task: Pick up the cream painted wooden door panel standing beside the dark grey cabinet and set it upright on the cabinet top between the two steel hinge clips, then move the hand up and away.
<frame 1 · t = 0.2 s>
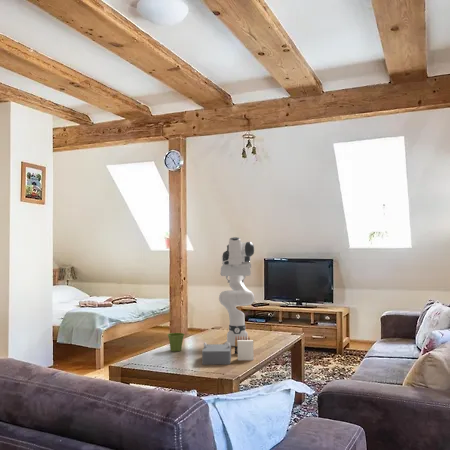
hand: (235, 282, 338), 47 cm above the table, tool pointing down, fingers open, 8 cm apart
plant pot: (176, 350, 350), on the table
door panel: (245, 359, 322), on the table
ammunition clip: (242, 354, 338), on the table
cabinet: (217, 360, 320), on the table
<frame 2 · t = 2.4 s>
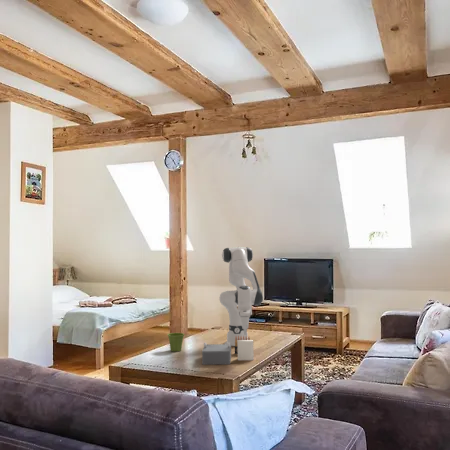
hand: (245, 333, 322), 16 cm above the table, tool pointing down, fingers open, 8 cm apart
nothing on the table moved.
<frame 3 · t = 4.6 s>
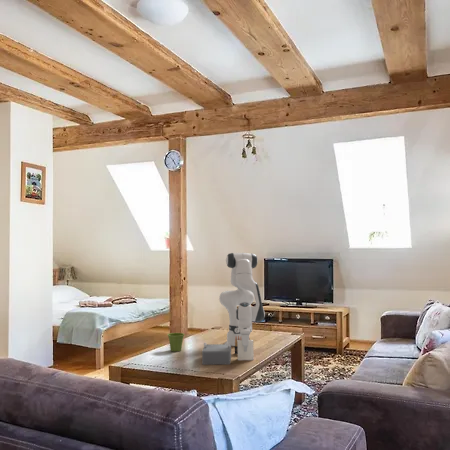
hand: (245, 350, 322), 6 cm above the table, tool pointing down, fingers closed on door panel, 3 cm apart
door panel: (245, 359, 322), on the table, touching gripper
everything else where it was.
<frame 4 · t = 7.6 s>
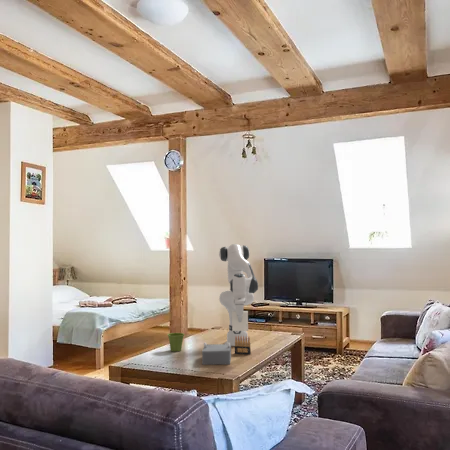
hand: (240, 321, 322), 24 cm above the table, tool pointing down, fingers closed on door panel, 3 cm apart
door panel: (240, 330, 322), point 18 cm above the table, touching gripper
everything else where it was.
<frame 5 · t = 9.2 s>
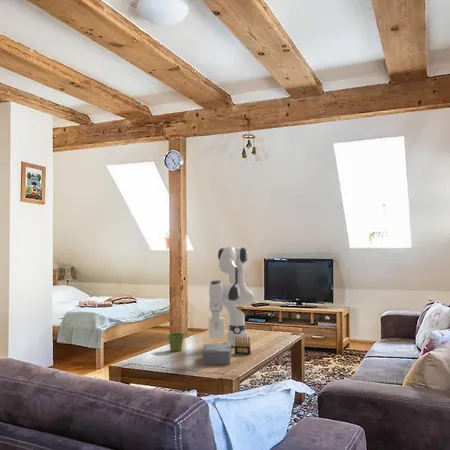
hand: (216, 328, 321), 20 cm above the table, tool pointing down, fingers closed on door panel, 3 cm apart
door panel: (216, 337, 321), point 14 cm above the table, touching gripper
everything else where it was.
when the fingers open (15 cm above the table, at t = 10.5 s): door panel stays where it is, resting on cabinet.
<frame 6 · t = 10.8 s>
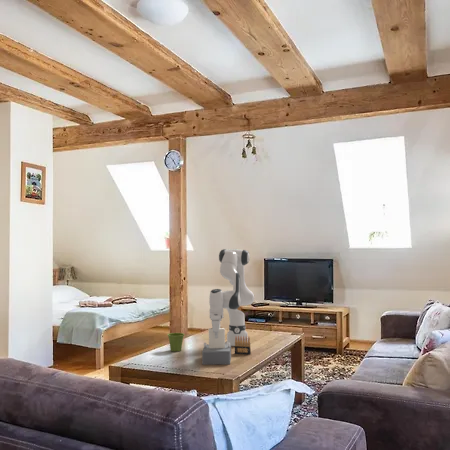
hand: (216, 337, 321), 15 cm above the table, tool pointing down, fingers open, 5 cm apart
door panel: (217, 347, 321), point 8 cm above the table, touching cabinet
everything else where it was.
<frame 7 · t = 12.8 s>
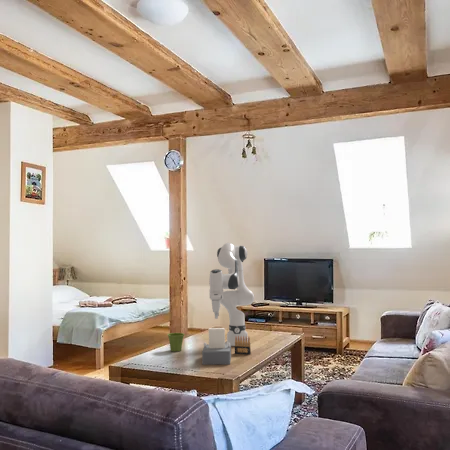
hand: (216, 317, 321), 27 cm above the table, tool pointing down, fingers open, 8 cm apart
nothing on the table moved.
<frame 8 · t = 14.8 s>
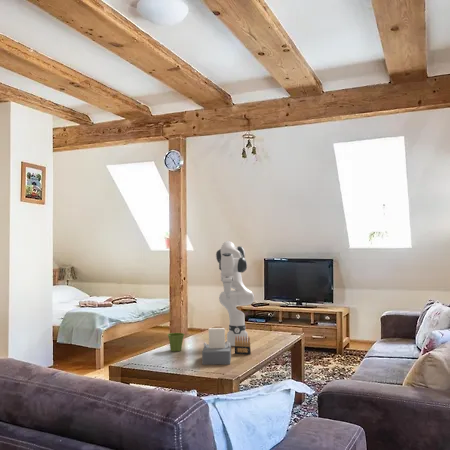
hand: (227, 299, 331), 37 cm above the table, tool pointing down, fingers open, 8 cm apart
nothing on the table moved.
at the end: door panel inside the target area on the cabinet (0.1 cm from its centre), point 8.0 cm above the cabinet's base; door panel tilted 0°; the gripper is holding nothing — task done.
